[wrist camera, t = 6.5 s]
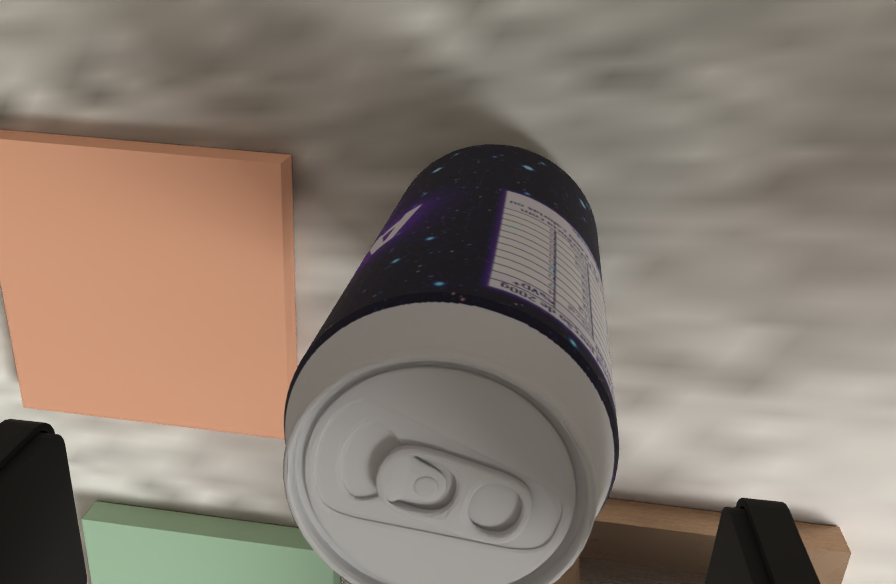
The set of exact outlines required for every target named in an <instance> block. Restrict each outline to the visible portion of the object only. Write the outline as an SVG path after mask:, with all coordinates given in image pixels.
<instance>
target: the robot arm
mask: <svg viewBox="0 0 896 584" xmlns="http://www.w3.org/2000/svg"><path fill="white" fill-rule="evenodd" d="M0 584H87V575H86V569H85V563H84V556H83V550H82V544H81V538H80V532H79V526H78V520H77V514H76V508H75V502H74V496H73V490H72V484H71V478H70V472H69V466H68V460H67V453H66V447H65V443H64V439H63V438H62V436H60V435H58V434H55V432H54V429H53V428H52V426H51V425H50V424H47V423H43V422H33V421H24V420H15V419H8V420H4V421H3V422H1V423H0ZM705 584H820V581H819V579H818V576H817V574H816V572H815V569H814V567H813V565H812V562H811V560H810V558H809V555H808V553H807V551H806V548H805V546H804V544H803V541H802V539H801V536H800V534H799V532H798V529H797V527H796V525H795V522H794V520H793V518H792V515H791V513H790V511H789V508H788V507H787V505H786V504H785V503H783V502H776V501H767V500H758V499H748V498H741V499H739V501H738V502H737V504H736V508H731V507H725V508H724V509H723V511H722V513H721V517H720V521H719V525H718V530H717V534H716V538H715V542H714V547H713V551H712V555H711V559H710V564H709V568H708V572H707V576H706V581H705Z"/></svg>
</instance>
